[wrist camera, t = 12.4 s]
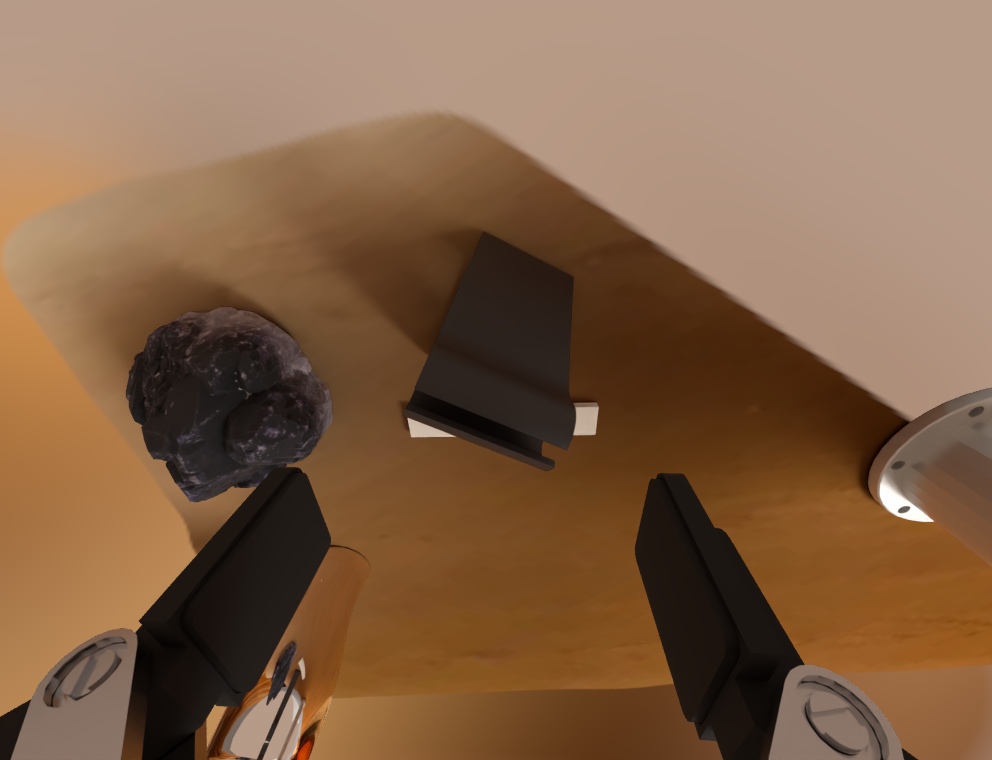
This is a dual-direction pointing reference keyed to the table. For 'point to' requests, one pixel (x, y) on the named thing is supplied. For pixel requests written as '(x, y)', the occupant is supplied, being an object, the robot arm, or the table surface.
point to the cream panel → (584, 426)
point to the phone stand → (503, 358)
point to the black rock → (226, 400)
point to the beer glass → (297, 671)
